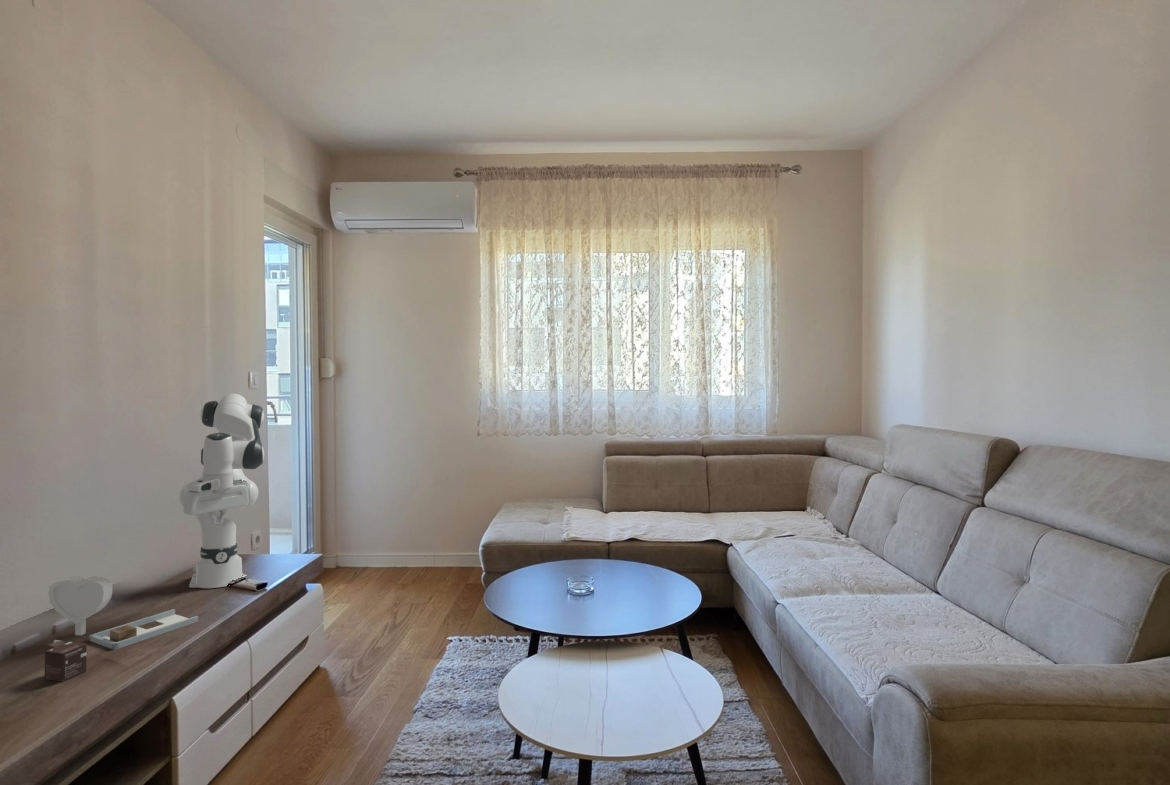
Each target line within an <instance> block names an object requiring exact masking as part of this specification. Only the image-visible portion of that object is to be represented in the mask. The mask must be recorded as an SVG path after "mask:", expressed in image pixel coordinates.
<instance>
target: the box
mask: <svg viewBox="0 0 1170 785" xmlns="http://www.w3.org/2000/svg"><path fill="white" fill-rule="evenodd" d="M85 672H87V643H83V642H82V643H81V642H74V641H68V642H67V643H61V644H59V645H56V646H54V647H52V648H49V649H47V650H45V651H44V680H47V681H48V680H49V681H58V682H65V681H67V680H70V679H72V678H75V677H76V676H77V677H78V676H79V675H81V674H83V673H85ZM78 674H79V675H78Z"/></svg>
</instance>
